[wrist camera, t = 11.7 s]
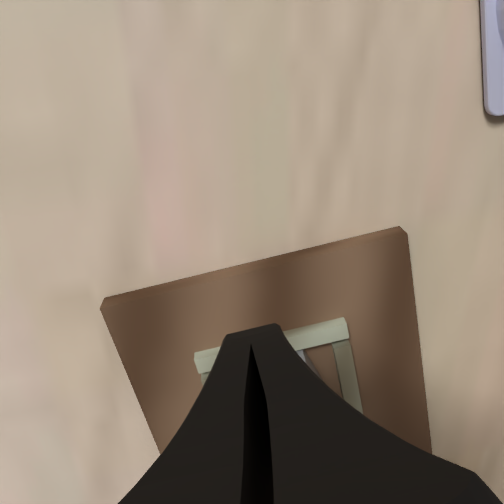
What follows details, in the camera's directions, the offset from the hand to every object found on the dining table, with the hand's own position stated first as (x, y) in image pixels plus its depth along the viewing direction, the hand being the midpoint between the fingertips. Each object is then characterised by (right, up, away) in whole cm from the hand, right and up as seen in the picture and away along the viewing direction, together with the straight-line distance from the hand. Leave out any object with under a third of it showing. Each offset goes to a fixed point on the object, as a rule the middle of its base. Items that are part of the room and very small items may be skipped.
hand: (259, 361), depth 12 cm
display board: (+1, -4, +13) cm, 14 cm away
